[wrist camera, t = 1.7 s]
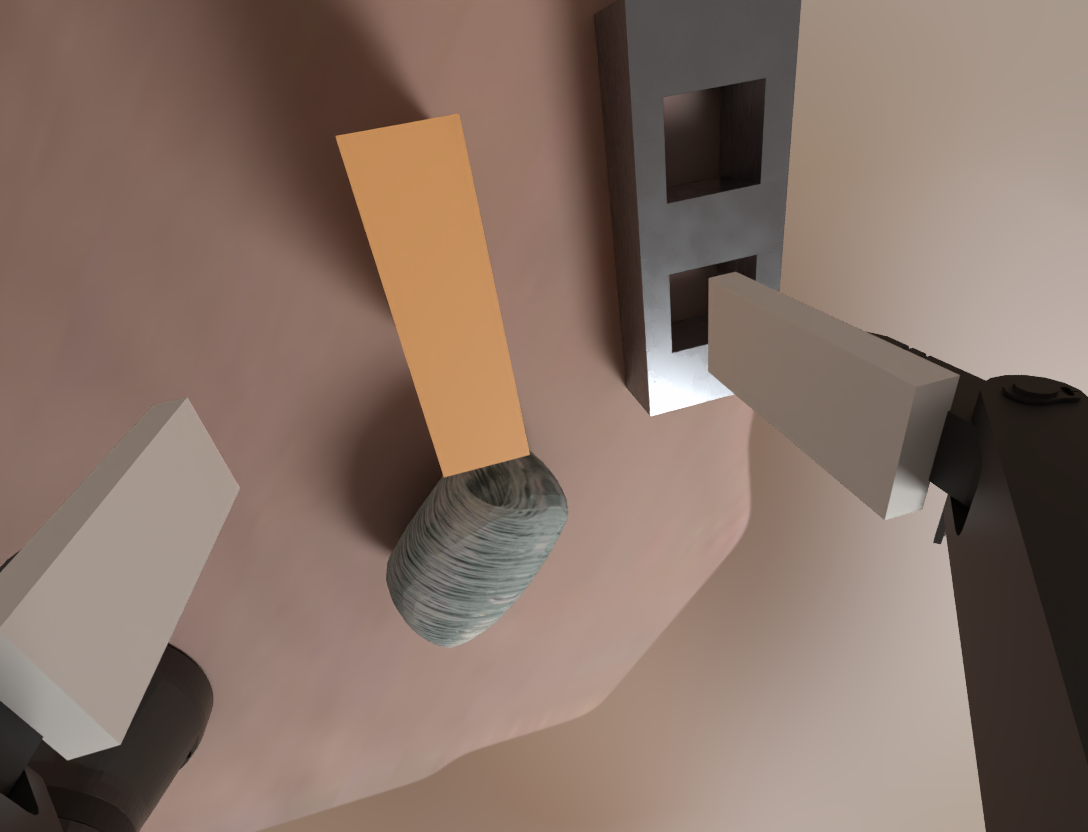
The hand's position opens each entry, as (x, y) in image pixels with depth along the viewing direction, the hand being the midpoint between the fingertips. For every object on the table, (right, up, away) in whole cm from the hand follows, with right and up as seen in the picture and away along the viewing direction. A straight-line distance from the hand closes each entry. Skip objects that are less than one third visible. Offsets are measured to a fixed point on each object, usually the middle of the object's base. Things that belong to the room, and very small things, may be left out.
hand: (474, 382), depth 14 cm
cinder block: (+10, +10, +17) cm, 22 cm away
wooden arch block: (-4, +8, +15) cm, 17 cm away
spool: (-3, -7, +23) cm, 25 cm away
